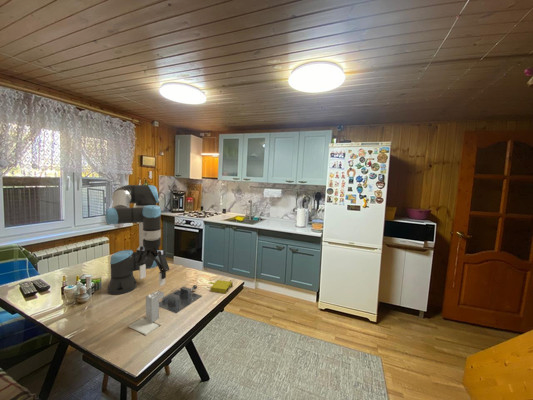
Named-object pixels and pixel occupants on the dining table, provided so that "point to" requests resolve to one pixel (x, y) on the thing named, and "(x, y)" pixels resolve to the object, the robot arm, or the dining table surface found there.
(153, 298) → the gray rectangular block
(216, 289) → the bracket
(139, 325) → the mat
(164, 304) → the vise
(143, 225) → the robot arm
